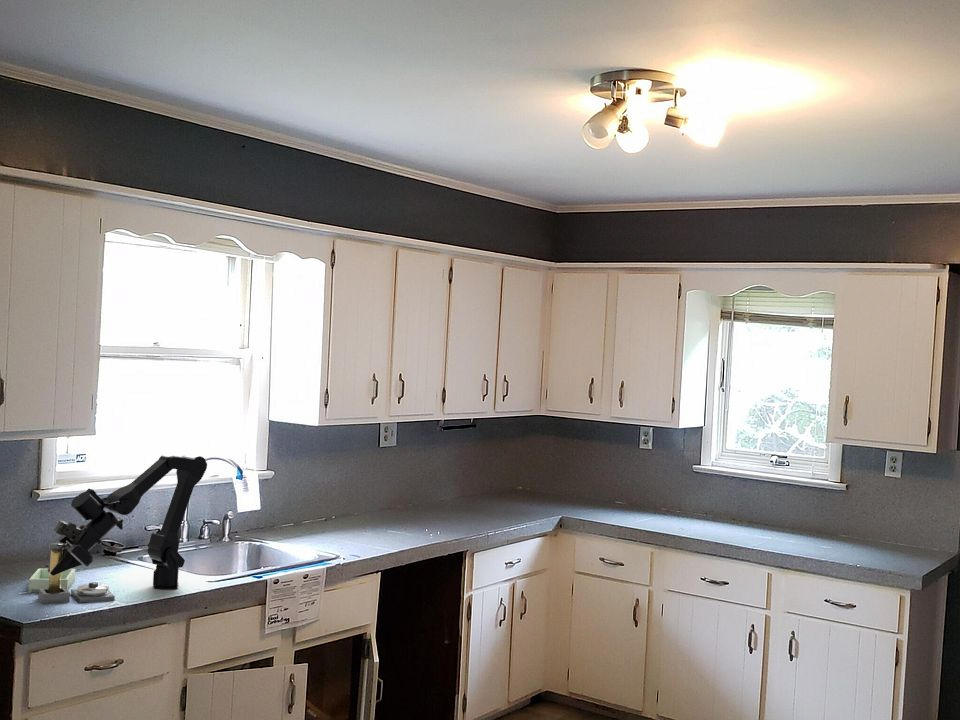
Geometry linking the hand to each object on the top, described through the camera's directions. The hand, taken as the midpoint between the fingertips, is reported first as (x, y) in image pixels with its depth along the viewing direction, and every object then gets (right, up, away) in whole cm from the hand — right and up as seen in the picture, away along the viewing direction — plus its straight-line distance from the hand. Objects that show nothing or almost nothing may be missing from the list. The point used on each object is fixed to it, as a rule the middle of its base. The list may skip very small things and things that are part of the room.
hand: (50, 573), depth 265 cm
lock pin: (+1, -7, +1) cm, 7 cm away
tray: (-6, -7, +15) cm, 18 cm away
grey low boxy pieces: (+5, -8, +4) cm, 10 cm away
